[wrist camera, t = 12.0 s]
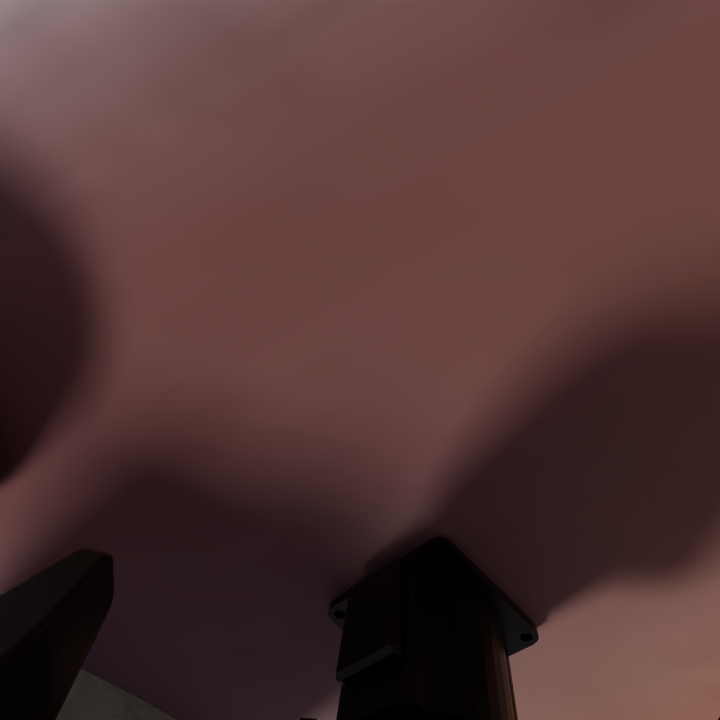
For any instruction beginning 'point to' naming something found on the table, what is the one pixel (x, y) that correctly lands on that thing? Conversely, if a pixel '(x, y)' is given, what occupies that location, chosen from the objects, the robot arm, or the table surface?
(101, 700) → the hip flask
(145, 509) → the table surface
